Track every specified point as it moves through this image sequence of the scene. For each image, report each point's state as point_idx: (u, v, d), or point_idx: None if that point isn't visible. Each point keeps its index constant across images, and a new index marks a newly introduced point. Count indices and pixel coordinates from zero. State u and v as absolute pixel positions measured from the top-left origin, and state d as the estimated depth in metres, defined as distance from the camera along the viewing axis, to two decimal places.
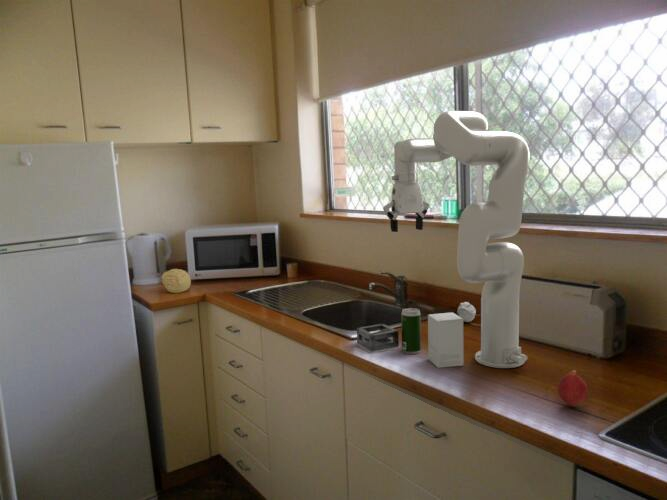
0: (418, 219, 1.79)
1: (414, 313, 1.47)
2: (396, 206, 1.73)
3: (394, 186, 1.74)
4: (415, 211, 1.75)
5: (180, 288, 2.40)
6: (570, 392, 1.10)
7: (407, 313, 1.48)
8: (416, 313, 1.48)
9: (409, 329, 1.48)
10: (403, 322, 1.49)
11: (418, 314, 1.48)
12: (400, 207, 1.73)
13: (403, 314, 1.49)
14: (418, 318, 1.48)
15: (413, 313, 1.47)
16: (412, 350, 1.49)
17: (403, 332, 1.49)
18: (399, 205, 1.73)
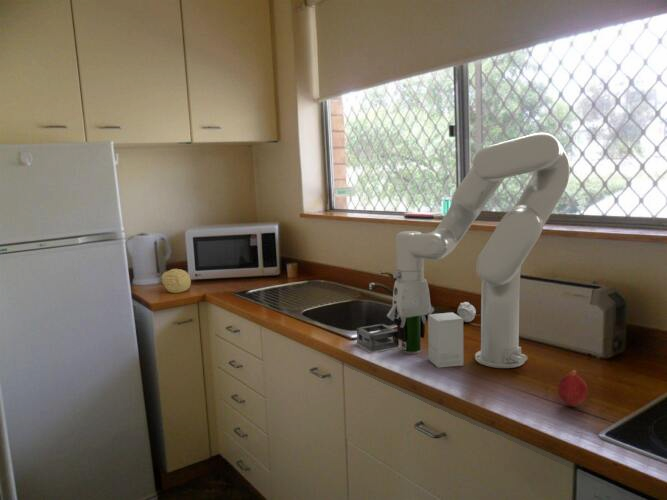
0: None
1: None
2: (398, 309, 1.46)
3: (396, 285, 1.47)
4: (421, 314, 1.48)
5: (180, 288, 2.40)
6: (570, 392, 1.10)
7: None
8: None
9: (409, 329, 1.48)
10: None
11: None
12: (403, 311, 1.46)
13: None
14: (418, 318, 1.48)
15: None
16: (412, 350, 1.49)
17: None
18: (402, 308, 1.45)
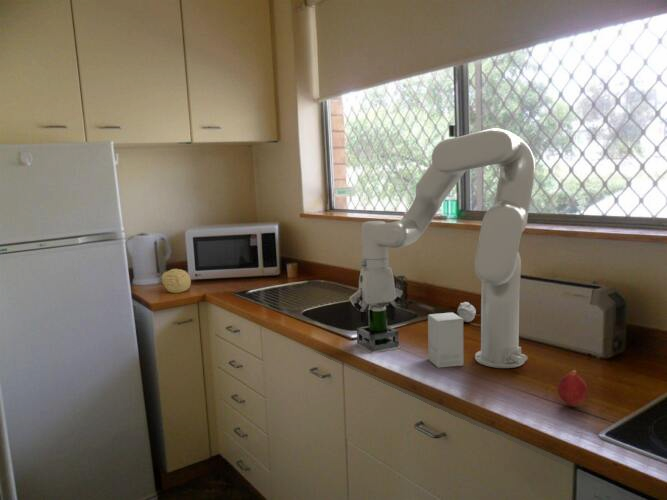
0: (389, 308, 1.57)
1: (380, 308, 1.52)
2: (364, 296, 1.51)
3: (362, 273, 1.52)
4: (386, 301, 1.53)
5: (180, 288, 2.40)
6: (570, 392, 1.10)
7: (373, 308, 1.53)
8: (382, 308, 1.53)
9: (376, 324, 1.53)
10: (370, 317, 1.54)
11: (384, 309, 1.53)
12: (368, 297, 1.51)
13: (370, 309, 1.54)
14: (384, 313, 1.53)
15: (379, 308, 1.52)
16: (378, 343, 1.54)
17: (370, 326, 1.55)
18: (367, 295, 1.51)
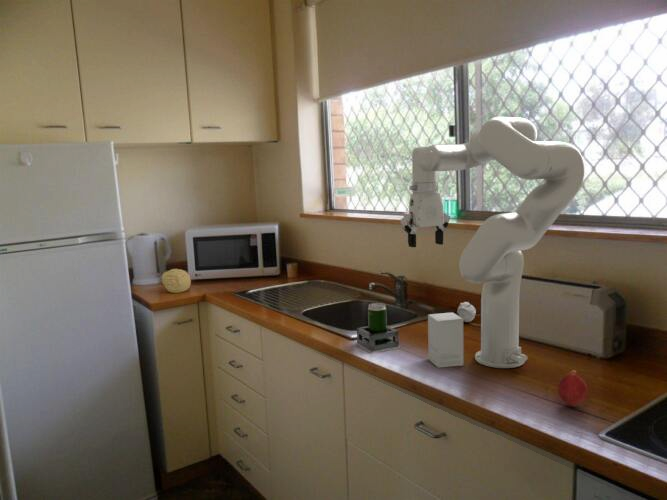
0: (438, 233, 1.62)
1: (380, 308, 1.53)
2: (414, 219, 1.56)
3: (412, 197, 1.57)
4: (435, 224, 1.59)
5: (180, 288, 2.40)
6: (570, 392, 1.10)
7: (373, 308, 1.53)
8: (382, 307, 1.53)
9: (376, 323, 1.53)
10: (369, 316, 1.54)
11: (384, 308, 1.54)
12: (419, 220, 1.56)
13: (369, 309, 1.54)
14: (384, 312, 1.54)
15: (379, 308, 1.53)
16: (378, 343, 1.54)
17: (370, 326, 1.55)
18: (418, 218, 1.56)
